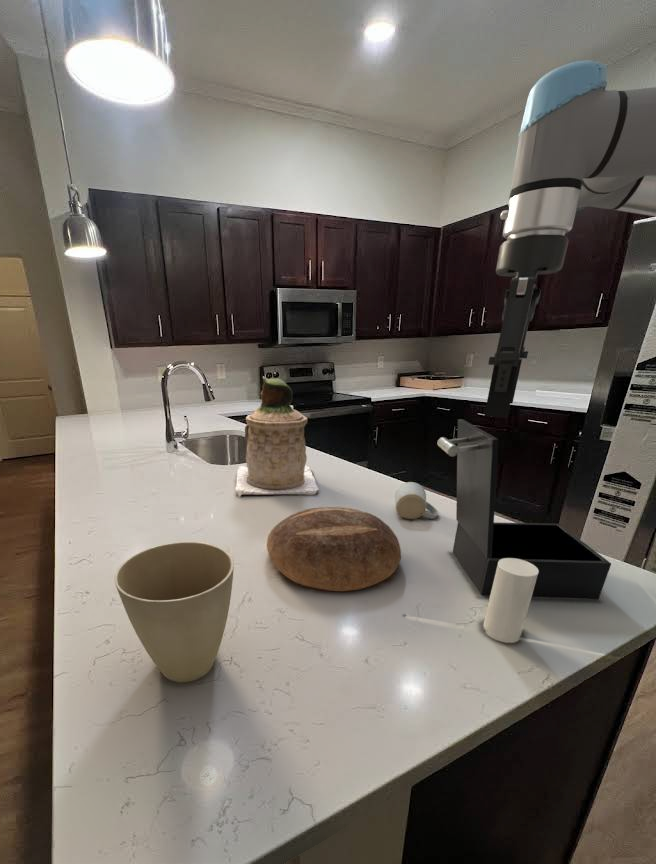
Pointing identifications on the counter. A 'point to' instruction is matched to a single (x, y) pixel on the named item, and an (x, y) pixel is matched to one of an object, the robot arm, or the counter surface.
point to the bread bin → (536, 559)
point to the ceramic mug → (413, 502)
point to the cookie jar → (275, 447)
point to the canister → (510, 599)
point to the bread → (334, 548)
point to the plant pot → (178, 604)
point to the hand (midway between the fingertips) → (499, 409)
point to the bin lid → (475, 482)
